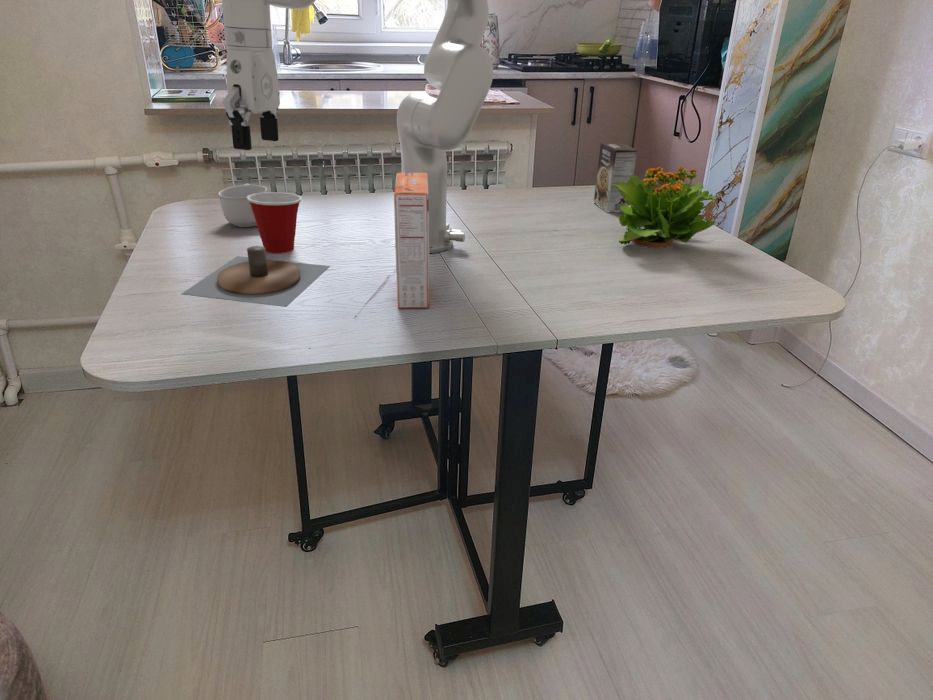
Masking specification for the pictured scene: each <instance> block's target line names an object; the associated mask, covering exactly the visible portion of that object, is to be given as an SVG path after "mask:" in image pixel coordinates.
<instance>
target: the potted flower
mask: <svg viewBox="0 0 933 700" xmlns="http://www.w3.org/2000/svg"><path fill="white" fill-rule="evenodd" d="M664 170H665V169H664V168H662V167H661V166H658V167H656V168H655V167H651V168H648V169H647V170H646V171H645V175H644V179H641V178H640V177H639V176H638V175H635V174H634V175H631V177H630V178H629V179H630V180H628V181H627V183H625V182H624V181H623V182H622V183H621V182H619V181H618V182H616V184H617V185H611V186H613V187H616V188H618V189H619V191H620V193H621V195H622V196H623V197H624V201H625V202H626V203H627V205H629V206H621V207H620V209H621V211H622V212H621V213H623V214H622V215H619V216H618V221H619V222H618V223H619V224H620V225H621V226H622V227H626V228H625V229H626V230H627V231H625V232H624V235H623V237H621V238H619V240H618V243H619V244H620V245H630V244H631V242H632V243H633V242H634V243H633V244H636V245H639V246H642V247H645V246H647V248H651V247H654V248H653V249H659V248H660V247H662V248H667V247H670V246H672V244H673V242H674V241H681V242H682V243H688V242H689V241H690V240H692V238H693V237H694V236H695V235H696V234H697V233H700V232H702V231H706V230H708V229H709V228H711V227H713V226H714V225H715V224H716V221H715V220H705V219H704V217H705V215H703V214H701V213H702V210H703V209H705V203H704V201H714V200H717V197H716V196H715V195H713V194H712V193H710V191H709V190H704V188H705V187H704V183H702V182H701V181H697V182H696V183H695V184H694V185H693V184H692V182H693V179H696V177H697V176H698V175H697V174H696V173H698V171H699V170H698V169H695V168H690V169H689V170H688V169H687V168H685V167H684V166H680V167H678V168H677V171H676V172H673V171H669V172H668V171H667V172H666V171H665V172H664ZM687 170H688V171H689V172H690V173H688V171H687ZM686 179H689V180H690V182H689V183H684V182H685V181H686ZM658 183H659V184H660V186H661V187H657V186H658Z"/></svg>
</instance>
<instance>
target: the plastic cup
mask: <svg viewBox="0 0 933 700" xmlns="http://www.w3.org/2000/svg"><path fill="white" fill-rule="evenodd" d="M302 198H303V197H302V196H300V195H298V194H296V193H289V192H283V191H282V192H278V191H277V192H275V191H271V192H270V191H267V192H264V193H256V194H251V195H248V197H247V200H248V201H249V202H250V205H251V208H252V211H253V213H254V217H255V220H256V224H257V225H256V227H257V231H258V234H259V238H260V239H261V243H262V246H263V247H265V252H267V253H269V254H284V253H289V252H291V251H293V250H294V249H295V238H296V231H297V230H296V229H297V219H298V218H297V217H298V212H299V206H300V202H301V201H302Z"/></svg>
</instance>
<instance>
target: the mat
mask: <svg viewBox="0 0 933 700" xmlns="http://www.w3.org/2000/svg"><path fill="white" fill-rule="evenodd" d="M266 260H270V259H269V258H268V259H267V258H266ZM276 260H277V259H276ZM247 261H248V256H239V255H237V256H235V257H233V258H232V259H231V260H229V261H228V262H227V263H225V264H223V265H222V266H220V267H219V268H217V269H216V270H214V271H213V272H211V273H210V274H208V275H207V276H206V277H204V278H202V279H201V280H199V281H198V282H196V283H194V285H192V286H191V287H189V288H188V289H186V290H184V291H183V292H182V293H181V295H185V296H186V295H187V296H195V297H202V298H204V297H205V298H210V299H219V300H226V301H227V300H228V301H234V302H235V301H237V302H242V303H243V302H244V303H252V304H261V305H269V306H270V305H271V306H278V307H288V306H289V305H291V303H292V302H293V301H294V300H295V299H297V297H298V296H300V295H301V294H302V293H303V292H304V291H305V290H306V289H307V288H308V287H310V286H311V284H313V283H314V282H315V281H316V280H317V279H318V278H319V277H320V276H321V275H322V274H324V272H326V271H327V270H328V269H329V268H330V267H331V266H330V265H324V264H316V263H315V264H314V263H307V262H305V263H304V262H298V261H285V260H282V261H283V262H288V263H291V264H293V265H295V266H297V267H298V268H299V270H300V276H301V278H300V281H299V282H298V283H297V284H296V285H294V286H293V287H291V288H288V289H286V290H283V291H280V292H275V293H270V294H263V295H240V294H234V293H230V292H227V291H225V290H223V289H221V288H220V287H219V285H218V282H217V275H218V274H219V273H220V272H221V271H222V270H223V269H225V268H227V267H229V266H232V265H235V264H238V263H242V262H247ZM277 261H279V260H277Z"/></svg>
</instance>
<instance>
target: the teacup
mask: <svg viewBox="0 0 933 700" xmlns="http://www.w3.org/2000/svg"><path fill="white" fill-rule="evenodd" d="M264 192H268V188H267V187H266V186H264V185H260V184H250V183H244V184H240V185H233V186H231V187H227V188H224V189H222V190H220V191H219V192H218V197H219V201H220V207H221V210H222V214H223V216H224V219H226V221H227V222H229V223H230V224H232V225H234V226H235V227H237V226H238V228H250V227H257V224H256V220H255V217H254V213H253V211H252V208H251V205H250V202H249V201H248V200H247V197H248V195H251V194H256V193H264Z"/></svg>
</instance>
